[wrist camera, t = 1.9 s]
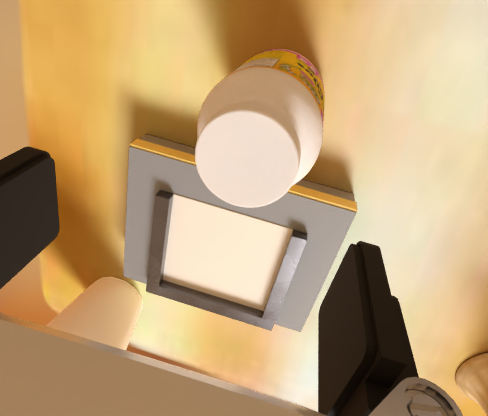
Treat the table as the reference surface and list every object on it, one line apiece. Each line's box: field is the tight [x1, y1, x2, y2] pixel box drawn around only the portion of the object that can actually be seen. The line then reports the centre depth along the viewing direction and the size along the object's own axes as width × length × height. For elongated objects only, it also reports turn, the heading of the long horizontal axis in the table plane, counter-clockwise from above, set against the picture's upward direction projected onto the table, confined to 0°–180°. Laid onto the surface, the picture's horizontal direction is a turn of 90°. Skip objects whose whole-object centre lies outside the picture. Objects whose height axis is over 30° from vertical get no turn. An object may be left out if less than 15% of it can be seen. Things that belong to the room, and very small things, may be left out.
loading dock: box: [123, 134, 357, 332], centre depth 32 cm, size 18×14×3 cm
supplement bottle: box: [195, 49, 324, 208], centre depth 21 cm, size 7×7×13 cm
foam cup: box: [46, 277, 143, 350], centre depth 36 cm, size 10×9×13 cm
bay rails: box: [146, 190, 308, 331], centre depth 31 cm, size 12×11×1 cm
